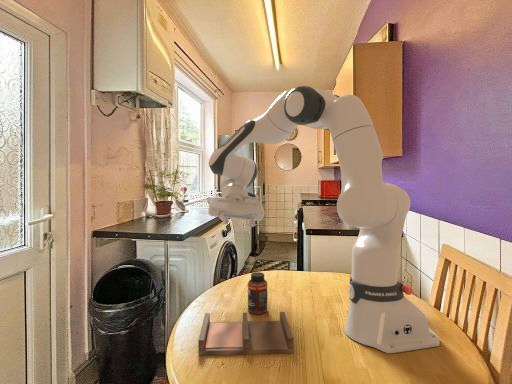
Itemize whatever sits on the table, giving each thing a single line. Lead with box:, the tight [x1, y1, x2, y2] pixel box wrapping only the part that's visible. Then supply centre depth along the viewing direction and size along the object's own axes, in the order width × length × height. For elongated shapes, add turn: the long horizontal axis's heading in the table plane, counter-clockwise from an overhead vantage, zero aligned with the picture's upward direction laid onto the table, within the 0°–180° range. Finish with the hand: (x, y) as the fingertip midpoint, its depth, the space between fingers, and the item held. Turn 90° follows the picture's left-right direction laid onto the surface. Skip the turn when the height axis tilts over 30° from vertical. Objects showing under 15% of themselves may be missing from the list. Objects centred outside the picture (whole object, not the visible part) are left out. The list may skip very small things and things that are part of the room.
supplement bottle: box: [247, 271, 268, 315], centre depth 93 cm, size 6×6×11 cm
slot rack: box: [197, 311, 294, 356], centre depth 77 cm, size 22×14×4 cm, turn 93°
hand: (239, 224), depth 105 cm, fingers open, 8 cm apart
